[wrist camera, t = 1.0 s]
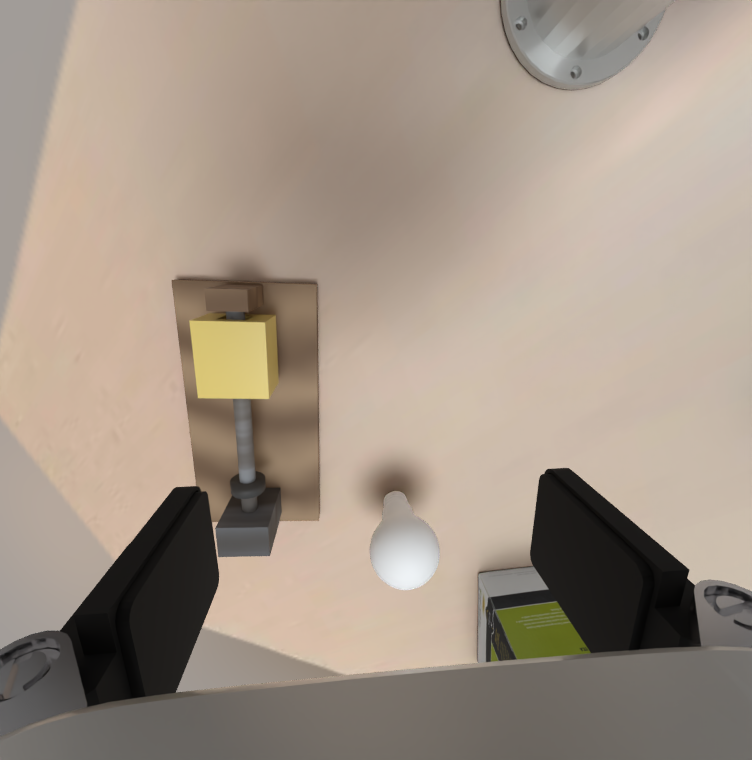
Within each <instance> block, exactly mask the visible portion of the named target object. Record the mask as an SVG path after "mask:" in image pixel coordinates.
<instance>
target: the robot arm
mask: <svg viewBox="0 0 752 760" xmlns="http://www.w3.org/2000/svg"><path fill="white" fill-rule="evenodd" d="M675 1H676V0H501V13H502V18H503V23H504V28H505V32H506V35H507V37H508V40H509V43H510V45H511V48H512V50H513V51H514V53H515V55H516V56H517V58H518V60H519V61H520V63H521V64H522V65H523V66H524V67H525V68H526V69H527V70H528V71H529V73H530V74H531V75H533V76H534V77H536V78H537V79H539V80H540V81H542V82H543V83H545V84H548V85H550V86H553V87H556V88H560V89H568V90H576V89H586V88H589V87H592V86H595V85H598V84H601V83H603V82H604V81H606V80H608V79H610V78H611V77H613V76H615V75H616V74H617V73H619V72H620V71H621V70H623V69H624V68H625V67H627V66H628V65H629V64H630V63H631V62H632V61H633V60H634V59H635V58H636V57H637V56H638V55H639V54H640V53H641V52H642V51H643V50H644V48H645V47H646V46H647V44H648V43H649V42H650V40H651V39H652V37H653V35H654V33H655V32H656V30H657V28H658V26H659V24H660V22H661V20H662V18H663V15H664V12H665V9H666V8H667V7H668V6H670V5H671V4H672V3H673V2H675ZM516 27H518V28H519V30H518V29H517V28H516ZM571 76H572V77H571ZM530 556H531V561H532V564H533V566H534V568H535V569H536V571H537V572H538V574H539V575H540V577H541V578H542V580H543V581H544V583H545V584H546V586H547V587H548V589H549V590H550V592H551V593H552V595H553V596H554V598H555V600H556V601H557V603H558V604H559V606H560V607H561V609H562V610H563V612H564V613H565V615H566V616H567V618H568V619H569V621H570V622H571V624H572V625H573V627H574V628H575V630H576V631H577V633H578V634H579V636H580V637H581V639H582V640H583V642H584V643H585V645H586V646H587V648H588V649H589V651H590V652H591V653H588V654H577V655H565V656H553V657H541V658H529V659H518V660H506V661H494V662H483V663H472V664H461V665H450V666H439V667H428V668H417V669H406V670H396V671H385V672H374V673H363V674H353V675H343V676H332V677H322V678H313V679H302V680H292V681H282V682H271V683H261V684H251V685H241V686H231V687H222V688H214V689H204V690H195V691H186V692H178V693H176V690H177V688H178V685H179V683H180V680H181V678H182V675H183V673H184V670H185V668H186V665H187V663H188V660H189V658H190V655H191V653H192V650H193V648H194V645H195V643H196V640H197V637H198V635H199V633H200V630H201V628H202V625H203V623H204V620H205V618H206V615H207V613H208V610H209V608H210V605H211V603H212V600H213V598H214V595H215V593H216V590H217V587H218V583H219V570H218V563H217V556H216V549H215V541H214V534H213V527H212V520H211V513H210V505H209V498H208V494H207V492H206V491H201V489H200V487H198V486H191V487H176V488H174V489H173V490H172V492H171V493H170V494H169V495H168V497H167V498H166V499H165V500H164V502H163V503H162V504H161V505H160V507H159V508H158V509H157V511H156V512H155V513H154V514H153V516H152V517H151V518H150V519H149V521H148V522H147V523H146V524H145V526H144V527H143V528H142V529H141V531H140V532H139V533H138V534H137V536H136V537H135V538H134V540H133V541H132V542H131V543H130V544H129V545H128V546H127V547H126V549H125V550H124V551H123V552H122V554H121V555H120V556H119V557H118V559H117V560H116V561H115V562H114V564H113V565H112V566H111V567H110V569H109V570H108V571H107V572H106V574H105V575H104V576H103V577H102V579H101V580H100V582H99V583H98V584H97V585H96V586H95V588H94V589H93V590H92V591H91V593H90V594H89V595H88V596H87V598H86V599H85V600H84V601H83V603H82V604H81V605H80V606H79V608H78V609H77V610H76V612H75V613H74V614H73V615H72V617H71V618H70V619H69V620H68V621H67V623H66V624H65V625H64V626H63V628H62V629H61V630H60V631H43V632H39V633H35V634H31V635H29V636H26V637H24V638H21V639H19V640H17V641H14V642H13V643H11V644H9V645H7V646H5V647H4V648H2V649H0V760H752V592H751V591H750V590H747V589H745V588H742V587H740V586H737V585H735V584H731V583H727V582H724V581H718V580H704V581H700V582H699V583H697V584H696V585H694V584H693V583H692V582H690V581H689V580H688V579H687V577H688V573H689V569H688V568H687V567H685V566H684V565H683V564H682V563H681V562H680V561H678V560H677V559H676V558H675V557H674V556H672V555H671V554H670V553H669V552H668V551H667V550H665V549H664V548H663V547H662V546H661V545H659V544H658V543H657V542H656V541H655V540H653V539H652V538H651V537H650V536H649V535H648V534H646V533H645V532H644V531H643V530H642V529H640V528H639V527H638V526H637V525H636V524H635V523H633V522H632V521H631V520H630V519H629V518H627V517H626V516H625V515H624V514H623V513H622V512H620V511H619V510H618V509H617V508H616V507H614V506H613V505H612V504H611V503H610V502H609V501H607V500H606V499H605V498H604V497H603V496H601V495H600V494H599V493H598V492H597V491H595V490H594V489H593V488H592V487H591V486H590V485H588V484H587V483H586V482H585V481H584V480H582V479H581V478H580V477H579V476H578V475H577V474H575V473H574V472H573V471H572V470H570V469H569V468H558V469H548V470H546V472H545V474H542V475H541V476H540V479H539V486H538V494H537V502H536V510H535V518H534V526H533V534H532V543H531V551H530Z"/></svg>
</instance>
